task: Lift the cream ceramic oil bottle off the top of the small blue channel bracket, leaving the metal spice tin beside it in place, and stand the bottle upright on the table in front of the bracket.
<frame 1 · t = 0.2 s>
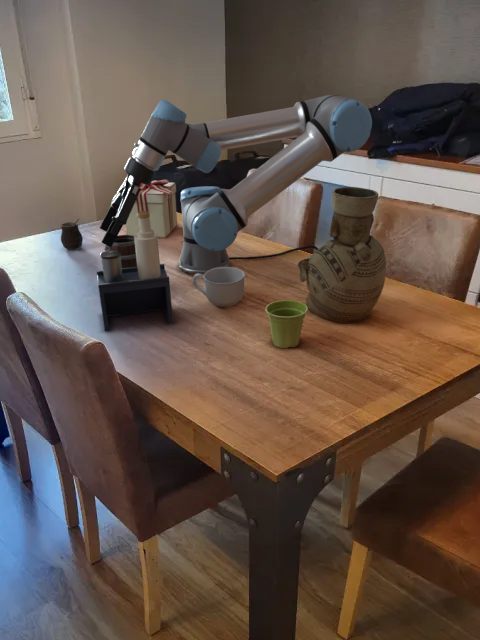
hand: (104, 237, 168), 16 cm above the table, tool tilted 35°, fingers open, 13 cm apart
blue channel bracket: (137, 319, 162), on the table
spice tin: (113, 280, 155), point 11 cm above the table, touching blue channel bracket
plant pot: (285, 343, 147), on the table
gift box: (153, 232, 223), on the table
ceramic vessel: (341, 314, 159), on the table
mug: (125, 290, 179), on the table
oil bottle: (149, 276, 156), point 11 cm above the table, touching blue channel bracket
teacup: (219, 302, 169), on the table
mate gourd: (73, 248, 212), on the table
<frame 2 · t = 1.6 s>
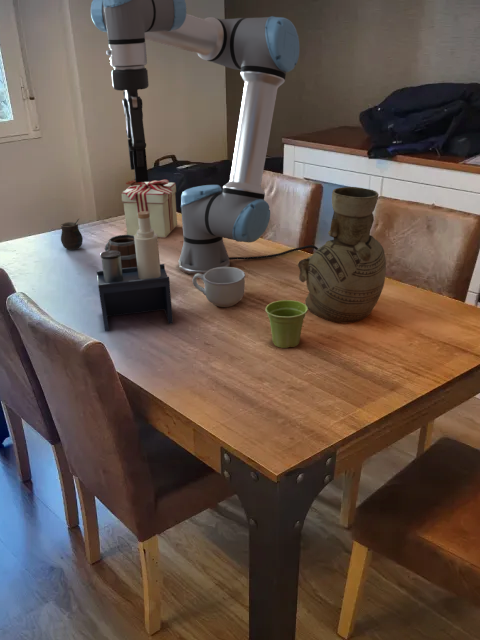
hand: (139, 175, 143), 35 cm above the table, tool pointing down, fingers open, 13 cm apart
nothing on the table moved.
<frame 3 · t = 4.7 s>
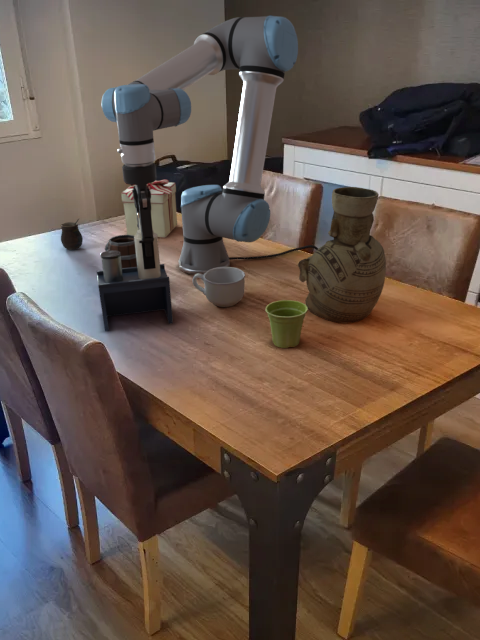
hand: (148, 263, 154), 14 cm above the table, tool pointing down, fingers closed on oil bottle, 6 cm apart
oil bottle: (149, 276, 156), point 11 cm above the table, touching gripper, blue channel bracket
everything else where it was.
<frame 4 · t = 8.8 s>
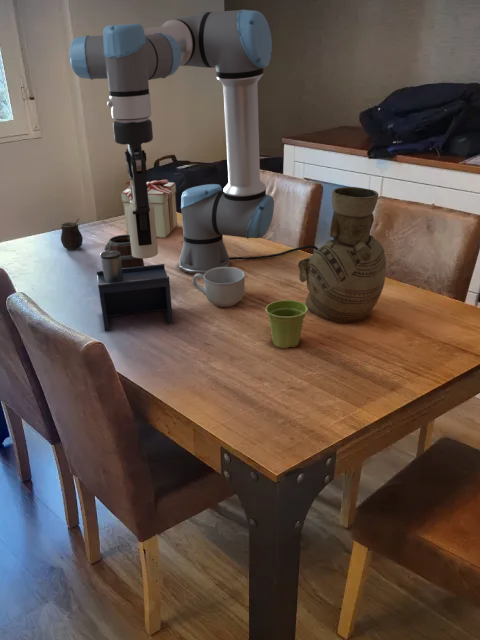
hand: (143, 239, 134), 25 cm above the table, tool pointing down, fingers closed on oil bottle, 6 cm apart
oil bottle: (144, 254, 136), point 22 cm above the table, touching gripper
everything else where it was.
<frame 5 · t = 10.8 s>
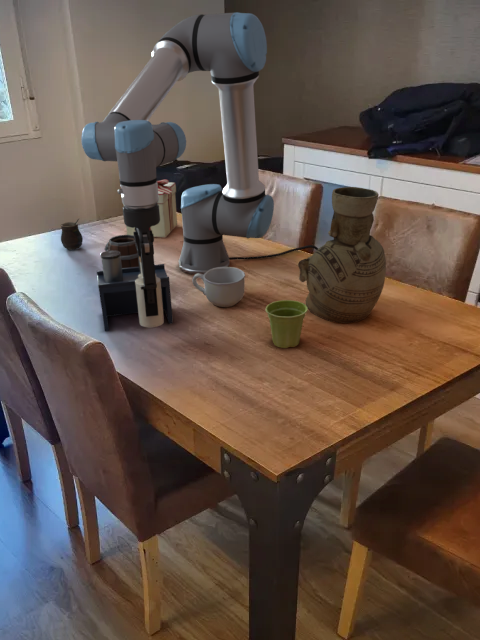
hand: (150, 309, 143), 9 cm above the table, tool pointing down, fingers closed on oil bottle, 6 cm apart
oil bottle: (151, 322, 144), point 6 cm above the table, touching gripper
everything else where it was.
when the fingers open (3 cm above the table, at t = 12.7 s): oil bottle stays where it is, on the table.
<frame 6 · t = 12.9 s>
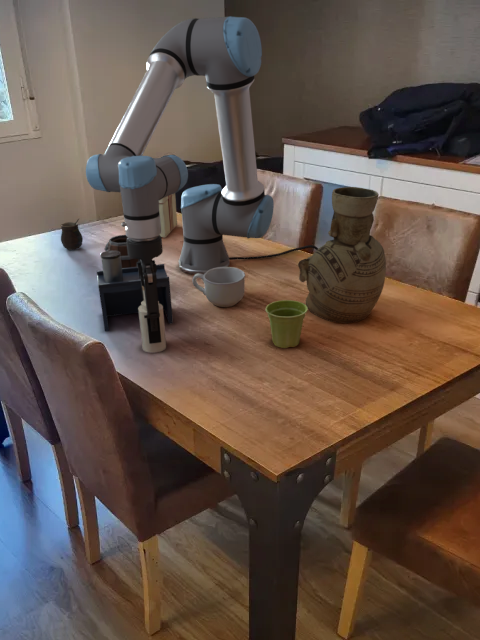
hand: (153, 335, 146), 3 cm above the table, tool pointing down, fingers open, 7 cm apart
oil bottle: (154, 347, 148), on the table
everything else where it was.
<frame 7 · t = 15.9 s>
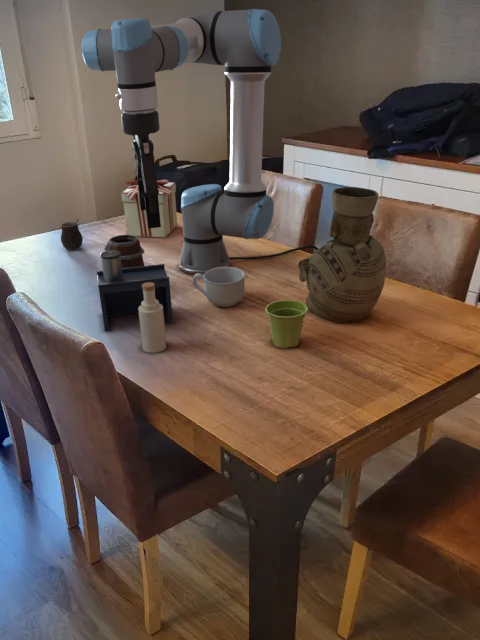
hand: (150, 218, 138), 28 cm above the table, tool pointing down, fingers open, 13 cm apart
nothing on the table moved.
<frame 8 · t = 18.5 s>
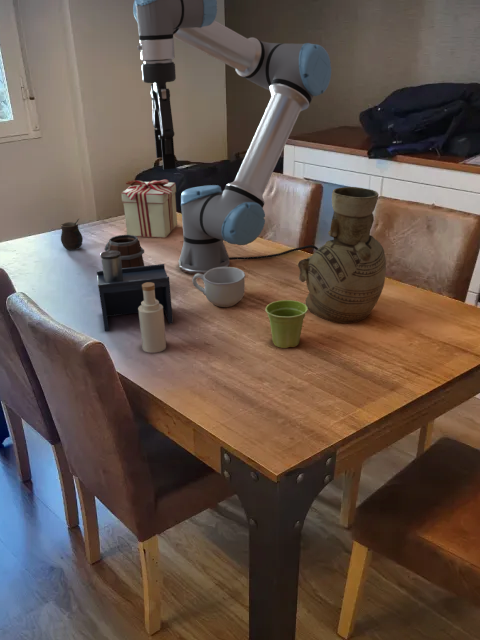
hand: (165, 162, 153), 35 cm above the table, tool pointing down, fingers open, 13 cm apart
nothing on the table moved.
at the end: oil bottle inside the target area (0.1 cm from its centre), on the table; oil bottle tilted 0°; spice tin moved 0.0 cm from its start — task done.
